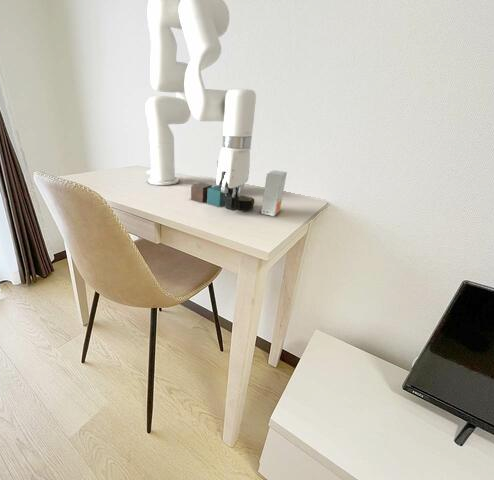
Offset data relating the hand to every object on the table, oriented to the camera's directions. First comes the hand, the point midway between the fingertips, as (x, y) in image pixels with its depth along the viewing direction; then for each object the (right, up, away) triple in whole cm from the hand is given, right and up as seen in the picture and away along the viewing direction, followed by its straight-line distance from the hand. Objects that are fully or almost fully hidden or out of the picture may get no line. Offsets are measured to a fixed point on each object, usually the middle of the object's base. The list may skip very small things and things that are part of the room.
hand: (231, 208), depth 76 cm
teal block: (-3, +3, +9) cm, 10 cm away
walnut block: (-8, +5, +12) cm, 16 cm away
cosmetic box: (+12, -1, +2) cm, 13 cm away
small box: (+1, +9, +21) cm, 23 cm away
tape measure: (+3, 0, +5) cm, 6 cm away
